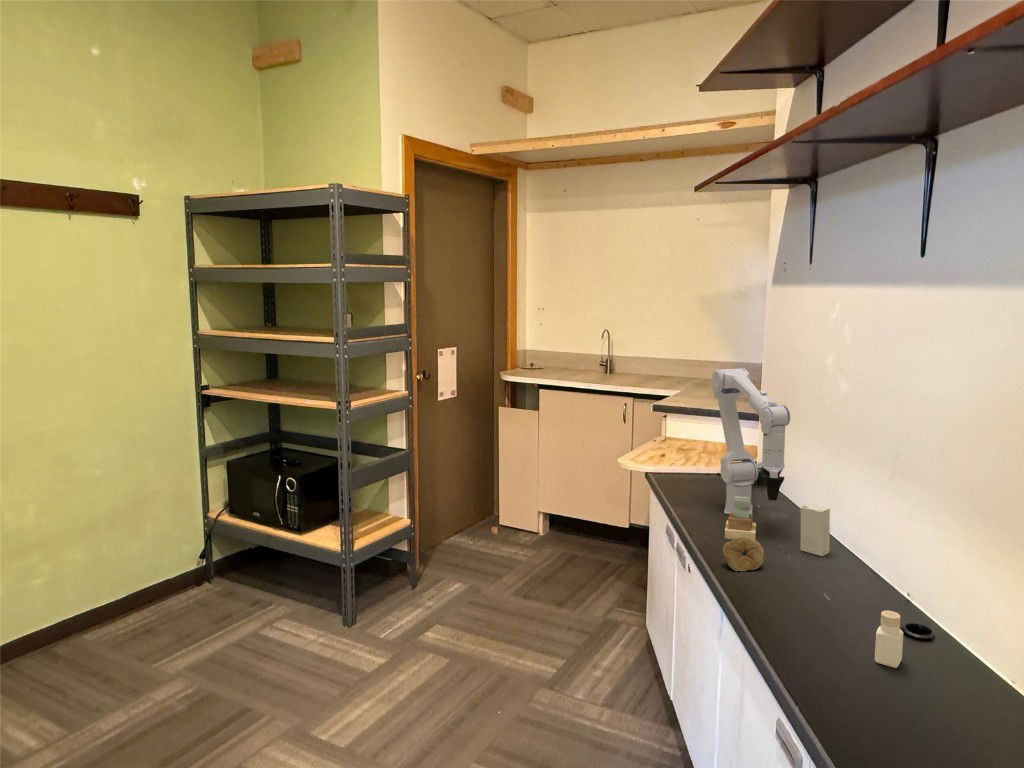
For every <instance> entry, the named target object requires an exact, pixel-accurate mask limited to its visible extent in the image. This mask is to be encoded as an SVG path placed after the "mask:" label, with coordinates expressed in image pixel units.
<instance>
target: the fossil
mask: <svg viewBox="0 0 1024 768" xmlns="http://www.w3.org/2000/svg"><path fill="white" fill-rule="evenodd" d="M722 553H723V556H724V558H725V561H726V562H727V564H728V567H729V568H731V569H732V570H733V571H735V572H737V571H741V572H740V573H744V572H747V571H751V570H752V571H755V570H756V569H757V570H758V569H759V568H760V567H761V566H762V565H763V563H764V557H765V551H764V549H763V547H762V546H761V543H760V542H759V541H757V540H756V539H755V540H753V539H751V538H748V537H738V538H735V539H731V541H727V542H725V543H724V545H723V546H722ZM743 571H744V572H743Z"/></svg>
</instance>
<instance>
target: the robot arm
mask: <svg viewBox="0 0 1024 768" xmlns="http://www.w3.org/2000/svg"><path fill="white" fill-rule="evenodd" d="M710 379H711V387H712V392H713V396H714V398H716V399H717V401H718V403H717V405H718V407H719V414H720V419H721V424H722V425H721V426H722V431H723V435H724V441H725V446H726V451H727V452H726V453H725V455H724V456H722V458H721V459H720V476H721V479H722V480H723V482H724V483H725V484H726V493H725V495H726V497H725V498H726V499H725V500H726V501H725V505H724V506H725V507H724V510H723V514H727V515H729V514H730V512H734V498H735V496H739V497H750V501H749V513H750V514H753V504H752V485H754V484H755V481H756V480H757V479H758V476H759V469H758V467H760V468H761V471H762V472H763V473H762V475H761V476H762V479H763V481H764V483H765V487H766V492H767V493H766V494H767V499H768V501H774V502H775V501H777V500H778V496H779V492H780V489H781V486H782V484H783V483H784V481H785V476H780V475H781V473H782V472H783V470H784V469H785V466H786V465H785V449H786V448H785V447H786V443H785V441H786V427H787V426H789V424H790V422H791V412H790V410H789V408H788V407H787V406H786V404H778V403H777V402H775V401H774V399H773V398H772V397H771V396H770V395H768V393H767V391H765V390H759V389H758V388H757V387H756V386H755V385H754V383H753V382H752V381H751V377H750V372H749V371H748V370H747V369H746V368H745V367H740V368H725V369H723V368H722V369H720V368H717V369H715V370H714V371H713V373H712V376H711V378H710ZM742 394H743V395H744V397H746V398H747V399H748V405H749V406H750V407H751V409H753V411H754V412H755V413H756V414H757V415H758V419H759V422H760V430H761V433H762V457H761V458H762V459H761V460H762V461H761V462H760V461H759V462H757V463H756V461H755V458H754V455H753V454H751V453H750V452H748V451H747V450H746V449H745V443H744V438H743V433H742V430H741V429H742V428H741V424H740V423H741V422H740V418H739V413H738V409H737V403H736V400H737V398H738V397H739V398H740V397H741V395H742Z"/></svg>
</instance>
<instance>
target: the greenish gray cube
mask: <svg viewBox="0 0 1024 768" xmlns="http://www.w3.org/2000/svg"><path fill="white" fill-rule="evenodd" d="M749 501H750V497H739V496H735V498H734V518H742V519H749Z"/></svg>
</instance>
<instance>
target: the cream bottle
mask: <svg viewBox="0 0 1024 768" xmlns="http://www.w3.org/2000/svg"><path fill="white" fill-rule="evenodd" d="M880 614H881V615H880V625H879V626H878V628H877V630H876V633H875V646H874V648H875V649H874V661H875V662H876V664H881V665H884V666H887V667H890V668H893V669H897V668H898V667H899V666H900V664H901V661H902V659H903V646H904V632H903V630H901V629H900V626H901V614H899V612H896V611H892V610H882V611H881V612H880Z"/></svg>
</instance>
